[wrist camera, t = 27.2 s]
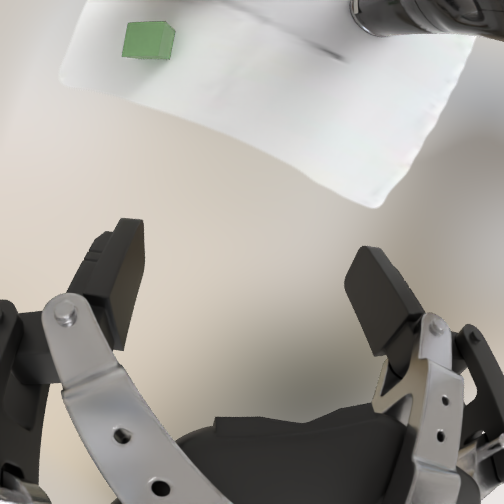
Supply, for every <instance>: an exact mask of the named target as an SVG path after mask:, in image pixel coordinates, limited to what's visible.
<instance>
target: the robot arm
mask: <svg viewBox="0 0 504 504" xmlns="http://www.w3.org/2000/svg"><path fill="white" fill-rule="evenodd" d="M350 11H351V14H352V17H353V19H354V20H355V22H356V23H357V24H358V25H359V26H360V27H361V28H362V29H363V30H364V31H366V32H367V33H369V34H371V35H374V36H378V37H386V36H391V35H405V34H437V33H439V34H462V35H472V36H480V37H486V38H490V39H495V40H499V41H503V42H504V0H351V1H350ZM144 266H145V249H144V223H143V220H140V219H129V218H121V219H120V220H119V222H118V224H117V226H116V227H115V230H114V231H113V232H109V231H105V232H104V233H103V234H101V235H100V236H99V237H98V238H96V239H95V240H94V242H93V244H92V245H91V247H90V249H89V252H87V254H86V256H85V258H84V261H82V263H81V265H80V267H79V269H78V270H77V272H76V274H75V276H74V278H73V280H72V282H71V284H70V286H69V288H68V290H67V292H66V293H64V294H60V295H58V296H56V297H54V298H52V299H51V300H50V301H49V302H48V303H47V304H46V305H45V307H44V309H43V311H37V312H28V313H18V312H17V310H16V308H15V306H14V304H13V303H12V302H10V301H8V300H0V504H52V503H51V501H50V499H49V497H48V496H47V494H46V493H45V492H44V491H43V490H42V489H41V488H40V487H39V484H38V482H39V458H40V445H41V436H42V428H43V421H44V414H45V408H46V402H47V397H48V392H49V387H50V384H51V383H62V386H63V390H62V391H61V395H62V399H63V402H64V404H65V406H66V409H67V411H68V413H69V416H70V418H71V420H72V422H73V424H74V426H75V428H76V430H77V432H78V434H79V436H80V438H81V440H82V442H83V443H84V446H85V447H86V449H87V451H88V453H89V454H90V456H91V458H92V460H93V461H94V463H95V464H96V466H97V468H98V469H99V471H100V473H101V474H102V475H103V477H104V479H105V480H106V482H107V483H108V485H109V486H110V488H111V489H112V490H113V492H114V493H115V494H116V496H117V498H116V499H115V500H114V501H113V502H112V503H111V504H481V500H483V498H485V497H486V496H487V495H488V494H490V493H491V492H492V491H493V490H494V489H495V488H496V487H497V486H499V485H501V484H503V483H504V375H503V373H502V371H501V369H500V367H499V365H498V363H497V361H496V359H495V357H494V355H493V353H492V351H491V349H490V347H489V346H488V344H487V342H486V340H485V338H484V337H483V335H482V333H481V332H480V331H479V330H478V329H477V328H476V327H475V326H473V325H470V324H466V325H465V326H464V327H463V328H462V330H461V331H460V332H459V333H456V332H452V331H450V328H449V326H448V325H447V323H446V322H445V321H444V320H443V319H442V318H441V317H439V316H438V315H436V314H434V313H425V311H424V310H423V308H422V306H421V304H420V303H419V301H418V300H417V298H416V297H415V295H414V293H413V292H412V290H411V289H410V288H409V286H408V284H407V283H406V281H404V278H403V277H402V275H401V274H400V272H399V271H398V270H397V269H396V268H395V267H394V266H393V265H392V264H391V262H390V261H389V259H388V258H387V256H386V255H385V254H384V252H383V251H382V250H381V249H380V248H376V247H370V246H362V247H360V249H359V250H358V252H357V254H356V256H355V258H354V260H353V262H352V264H351V267H350V269H349V270H348V273H347V275H346V277H345V282H344V287H345V291H346V293H347V296H348V298H349V300H350V302H351V304H352V306H353V309H354V310H355V313H356V315H357V317H358V320H359V322H360V324H361V327H362V329H363V331H364V333H365V336H366V338H367V341H368V343H369V345H370V348H371V350H372V353H373V355H374V356H383V355H387V357H388V358H387V359H386V360H385V361H384V363H383V366H382V369H381V373H380V377H379V380H378V383H377V387H376V390H375V393H374V397H373V400H372V402H371V403H367V404H362V405H357V406H351V407H346V408H340V409H338V410H336V411H333V412H331V413H329V414H327V415H324V416H322V417H320V418H317V419H315V420H312V421H310V422H307V423H296V422H288V421H282V420H276V419H270V418H265V417H215V420H214V423H213V426H210V427H205V428H201V429H198V430H196V431H193V432H190V433H188V434H186V435H184V436H182V437H181V438H179V439H177V440H176V441H174V440H173V439H172V437H171V436H170V435H169V434H168V432H167V431H166V430H165V428H164V427H163V426H162V424H161V423H160V421H159V420H158V419H157V417H156V416H155V415H154V413H153V412H152V410H151V409H150V407H149V406H148V405H147V403H146V402H145V400H144V399H143V397H142V395H141V394H140V393H139V391H138V389H137V388H136V386H135V385H134V383H133V382H132V380H131V378H130V377H129V375H128V373H127V372H126V370H125V369H124V367H123V366H122V365H120V364H119V363H118V361H117V359H116V357H115V356H114V354H113V349H114V350H120V351H124V346H125V342H126V337H127V333H128V329H129V325H130V320H131V317H132V312H133V309H134V305H135V301H136V297H137V294H138V290H139V287H140V283H141V280H142V276H143V272H144ZM467 367H468V369H469V371H470V373H471V376H472V378H473V380H474V382H475V385H476V387H477V395H476V397H475V399H474V400H473V401H472V402H470V403H469V404H468V405H465V403H464V379H463V377H462V376H461V375H460V374H461V373H462V372H463V371H464V370H465V369H466V368H467ZM483 431H484V432H485V433H484V434H482V432H483Z"/></svg>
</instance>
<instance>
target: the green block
mask: <svg viewBox="0 0 504 504" xmlns="http://www.w3.org/2000/svg"><path fill="white" fill-rule="evenodd" d="M174 35H175V30H174V29H173V28H172V27H171V26H170V25H169V24H167V23H166V22H165V21H157V22H132V23H128V26H127V30H126V35H125V41H124V46H123V52H122V57H128V58H135V59H170V56H171V50H172V45H173V40H174Z"/></svg>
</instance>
